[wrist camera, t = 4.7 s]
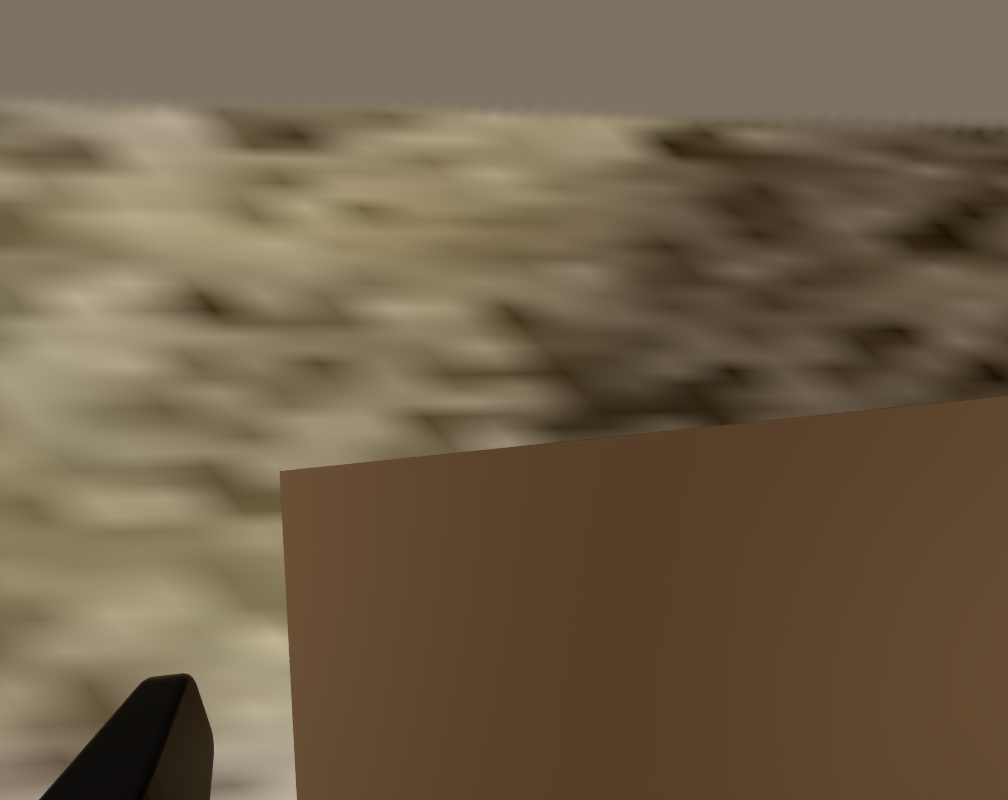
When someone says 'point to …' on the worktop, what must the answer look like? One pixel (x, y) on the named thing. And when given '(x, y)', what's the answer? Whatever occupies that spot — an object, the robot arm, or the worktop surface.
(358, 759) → the walnut block
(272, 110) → the worktop surface
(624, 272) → the worktop surface
